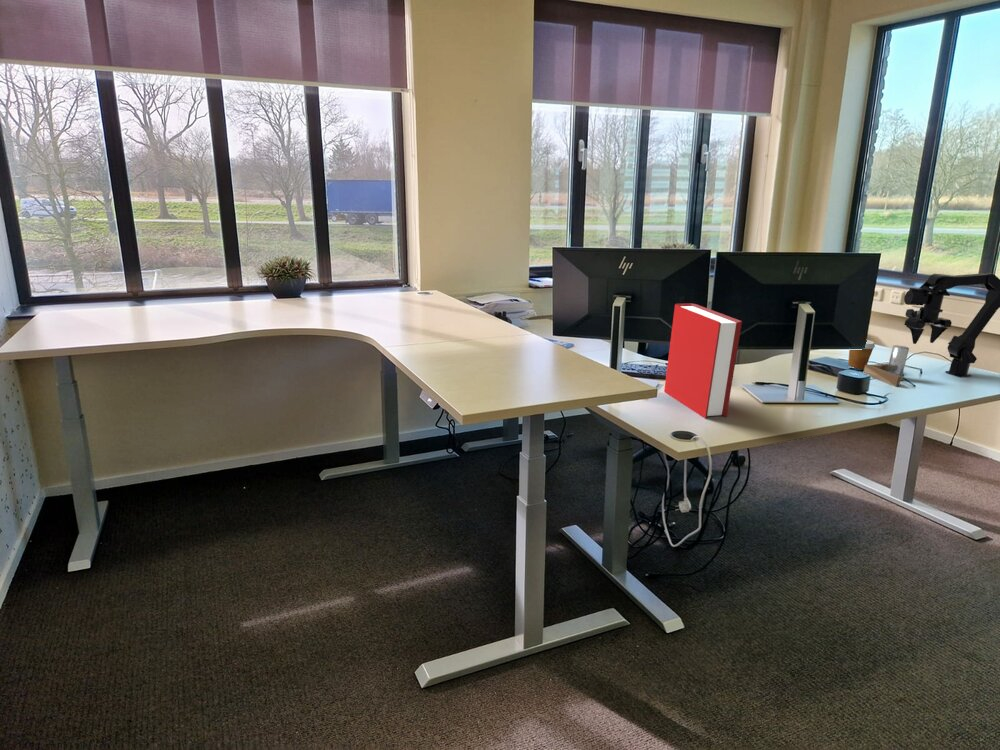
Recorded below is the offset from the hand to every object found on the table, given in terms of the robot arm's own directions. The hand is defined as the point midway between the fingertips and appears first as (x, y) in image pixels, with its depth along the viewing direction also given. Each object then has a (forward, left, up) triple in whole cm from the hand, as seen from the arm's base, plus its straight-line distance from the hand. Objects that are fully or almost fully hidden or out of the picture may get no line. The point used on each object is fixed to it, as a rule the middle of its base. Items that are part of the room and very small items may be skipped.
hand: (922, 343), depth 257 cm
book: (+116, +13, -13) cm, 117 cm away
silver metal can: (+17, +5, -12) cm, 22 cm away
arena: (+18, +6, -13) cm, 23 cm away
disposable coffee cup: (+22, -9, -13) cm, 27 cm away
